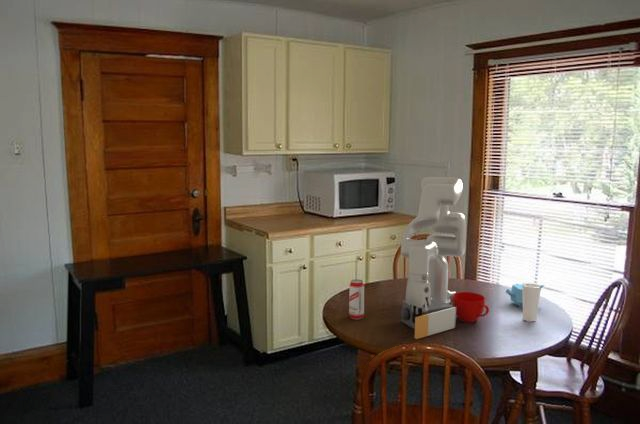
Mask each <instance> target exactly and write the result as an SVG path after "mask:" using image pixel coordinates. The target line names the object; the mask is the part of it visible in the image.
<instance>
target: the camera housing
mask: <svg viewBox="0 0 640 424" xmlns="http://www.w3.org/2000/svg"><path fill="white" fill-rule="evenodd" d="M401 302H402V304H401V305H402V307H401V309H400V318H401V322H402V323H403V324H405V325H407V326H408V327H410V328H411V329H413V330H415V323H413V322H412V318H413V313H412V310H411V307H410V306H409V305H408V304H407V301H406V299H405V300H402V301H401ZM427 307H428V306H427ZM452 307H453V304H450V303H449V304H448V303H446V302H443V301H441V300H439V299H437V298H435V297H433V296H431V306H430V307H428V311H426V312H423V313H422V315H426V314H429V313H433V312H437V311H441V310H445V309H448V308H452ZM419 309H420V308H419Z"/></svg>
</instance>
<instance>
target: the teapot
mask: <svg viewBox="0 0 640 424" xmlns="http://www.w3.org/2000/svg"><path fill="white" fill-rule="evenodd" d="M523 284H526V282H523V283H520V284H519V283H515V284H512V285H511V290H510V289H508V288H507V289H506V290H505V293H506V294H508V296H510V301H511V302H512V303H513V304H514V305H517V306H518V308H521V309H523V297H522V293H523ZM539 286H540V292H541V290H542V288H543V287H544V286H545V284H541V285H539Z"/></svg>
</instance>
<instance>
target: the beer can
mask: <svg viewBox="0 0 640 424" xmlns="http://www.w3.org/2000/svg"><path fill="white" fill-rule="evenodd" d="M348 293H349V298H348V299H349V301H348V315H349V318H350V319H352V320H356V321H357V320H358V321H359V320H362V319H363V318H364V316H365V283H364V280H362V279H358V278H357V279H352V280H350V282H349V292H348Z"/></svg>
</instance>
